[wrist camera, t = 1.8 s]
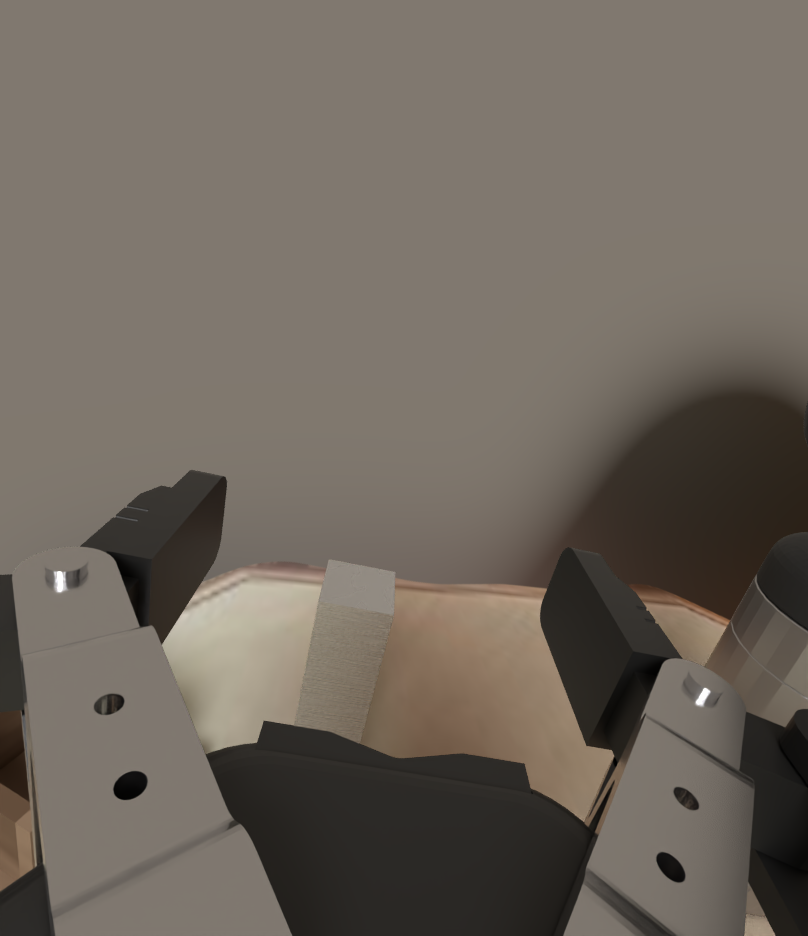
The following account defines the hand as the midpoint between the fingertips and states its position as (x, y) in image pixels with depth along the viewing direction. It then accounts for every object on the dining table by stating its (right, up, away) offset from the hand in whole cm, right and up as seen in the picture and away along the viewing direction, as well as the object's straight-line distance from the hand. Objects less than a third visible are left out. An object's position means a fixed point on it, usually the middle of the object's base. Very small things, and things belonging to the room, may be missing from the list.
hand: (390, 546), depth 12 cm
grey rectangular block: (-5, -17, +19) cm, 26 cm away
